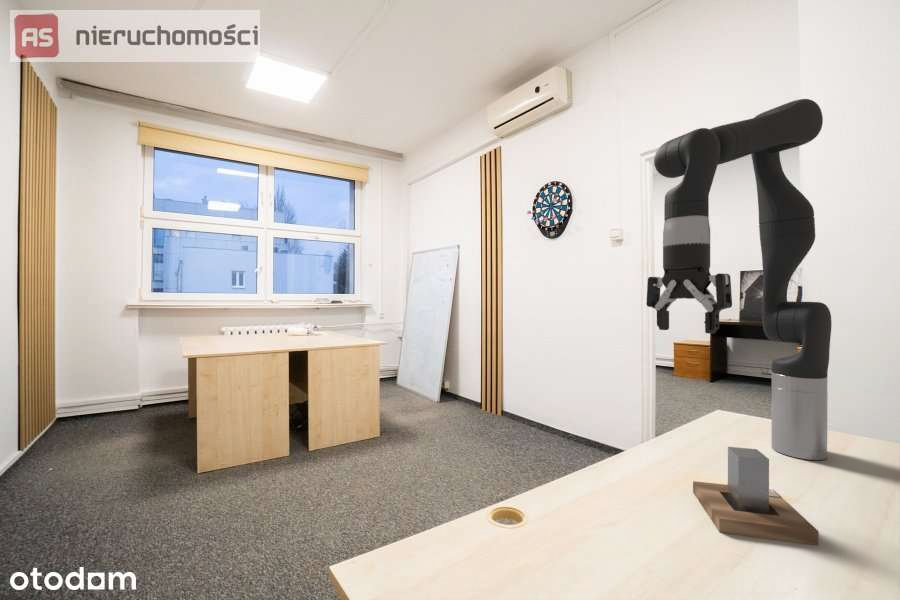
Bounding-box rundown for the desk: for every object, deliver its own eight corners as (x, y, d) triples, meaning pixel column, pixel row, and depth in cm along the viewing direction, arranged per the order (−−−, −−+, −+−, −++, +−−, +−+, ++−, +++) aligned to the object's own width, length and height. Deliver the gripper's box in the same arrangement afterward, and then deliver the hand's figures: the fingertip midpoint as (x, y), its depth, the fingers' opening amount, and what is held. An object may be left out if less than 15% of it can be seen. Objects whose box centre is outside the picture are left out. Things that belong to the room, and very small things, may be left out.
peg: (727, 507, 65) (727, 446, 65) (756, 510, 64) (756, 449, 63) (738, 520, 61) (738, 456, 61) (768, 524, 60) (769, 459, 60)
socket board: (693, 492, 70) (693, 480, 70) (773, 501, 66) (773, 489, 66) (719, 531, 58) (719, 517, 58) (818, 545, 55) (818, 530, 55)
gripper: (740, 240, 68) (739, 333, 69) (661, 248, 81) (661, 327, 81) (716, 237, 65) (716, 336, 65) (638, 247, 77) (638, 329, 77)
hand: (686, 331), depth 73 cm, fingers open, 8 cm apart
